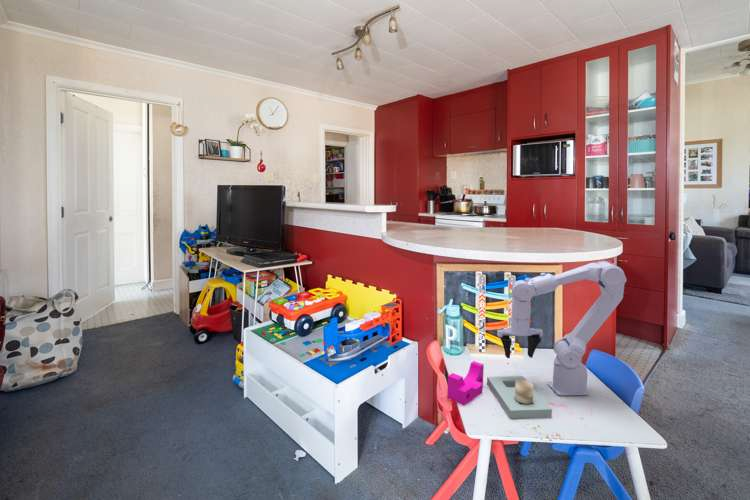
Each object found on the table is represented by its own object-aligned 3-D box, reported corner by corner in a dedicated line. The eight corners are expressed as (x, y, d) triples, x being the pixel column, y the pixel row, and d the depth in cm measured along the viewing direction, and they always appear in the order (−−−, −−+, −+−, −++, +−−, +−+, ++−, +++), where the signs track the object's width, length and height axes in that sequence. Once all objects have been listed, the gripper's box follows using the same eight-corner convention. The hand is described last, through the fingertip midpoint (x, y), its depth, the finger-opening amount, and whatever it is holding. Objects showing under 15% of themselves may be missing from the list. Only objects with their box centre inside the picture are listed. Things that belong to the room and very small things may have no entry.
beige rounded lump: (528, 402, 116) (529, 380, 115) (535, 411, 111) (536, 388, 110) (511, 402, 116) (512, 380, 115) (518, 411, 111) (519, 388, 110)
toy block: (464, 405, 115) (465, 382, 114) (447, 398, 120) (447, 375, 118) (489, 388, 125) (490, 366, 124) (473, 381, 130) (473, 361, 129)
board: (521, 383, 128) (522, 376, 128) (551, 417, 108) (551, 409, 108) (487, 383, 128) (487, 376, 127) (510, 418, 108) (510, 410, 108)
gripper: (536, 313, 128) (534, 351, 130) (494, 313, 127) (493, 352, 129) (547, 320, 121) (544, 360, 123) (502, 320, 120) (500, 361, 122)
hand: (518, 356), depth 126 cm, fingers open, 7 cm apart
